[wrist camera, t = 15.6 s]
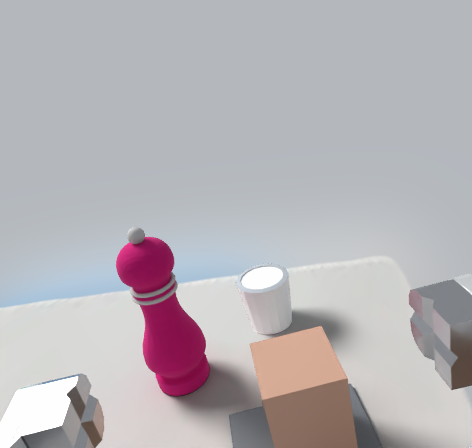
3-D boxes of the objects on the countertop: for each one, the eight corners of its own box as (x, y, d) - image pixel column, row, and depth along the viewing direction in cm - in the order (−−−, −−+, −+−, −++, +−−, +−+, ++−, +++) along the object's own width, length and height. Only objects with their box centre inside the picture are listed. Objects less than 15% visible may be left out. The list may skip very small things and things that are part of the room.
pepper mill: (211, 349, 54) (168, 207, 47) (216, 390, 48) (167, 233, 40) (156, 363, 54) (104, 223, 46) (153, 407, 47) (92, 252, 40)
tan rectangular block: (284, 487, 35) (262, 400, 32) (270, 423, 42) (249, 343, 38) (360, 467, 36) (347, 378, 32) (335, 406, 42) (321, 325, 38)
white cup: (273, 344, 53) (263, 298, 50) (236, 326, 57) (224, 283, 55) (307, 314, 57) (299, 270, 54) (269, 300, 61) (260, 258, 59)
